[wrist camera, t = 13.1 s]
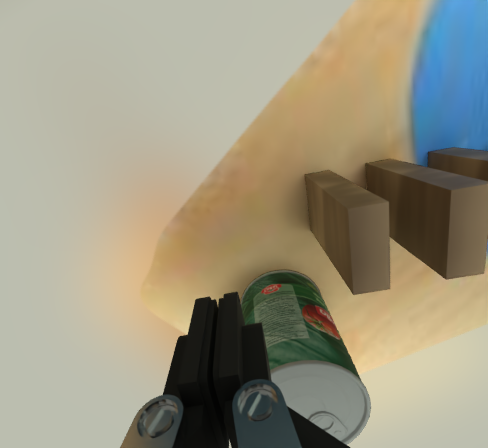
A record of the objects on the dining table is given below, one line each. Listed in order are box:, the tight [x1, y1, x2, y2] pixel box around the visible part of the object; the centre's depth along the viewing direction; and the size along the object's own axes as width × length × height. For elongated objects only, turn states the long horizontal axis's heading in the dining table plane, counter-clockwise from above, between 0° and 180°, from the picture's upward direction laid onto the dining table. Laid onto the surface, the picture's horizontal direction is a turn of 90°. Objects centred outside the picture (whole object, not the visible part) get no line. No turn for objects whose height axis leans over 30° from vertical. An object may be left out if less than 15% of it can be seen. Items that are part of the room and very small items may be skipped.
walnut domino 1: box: [305, 170, 390, 295], centre depth 20 cm, size 2×5×10 cm, turn 11°
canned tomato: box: [241, 270, 371, 445], centre depth 23 cm, size 8×8×11 cm
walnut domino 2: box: [366, 159, 488, 280], centre depth 19 cm, size 2×5×10 cm, turn 10°
